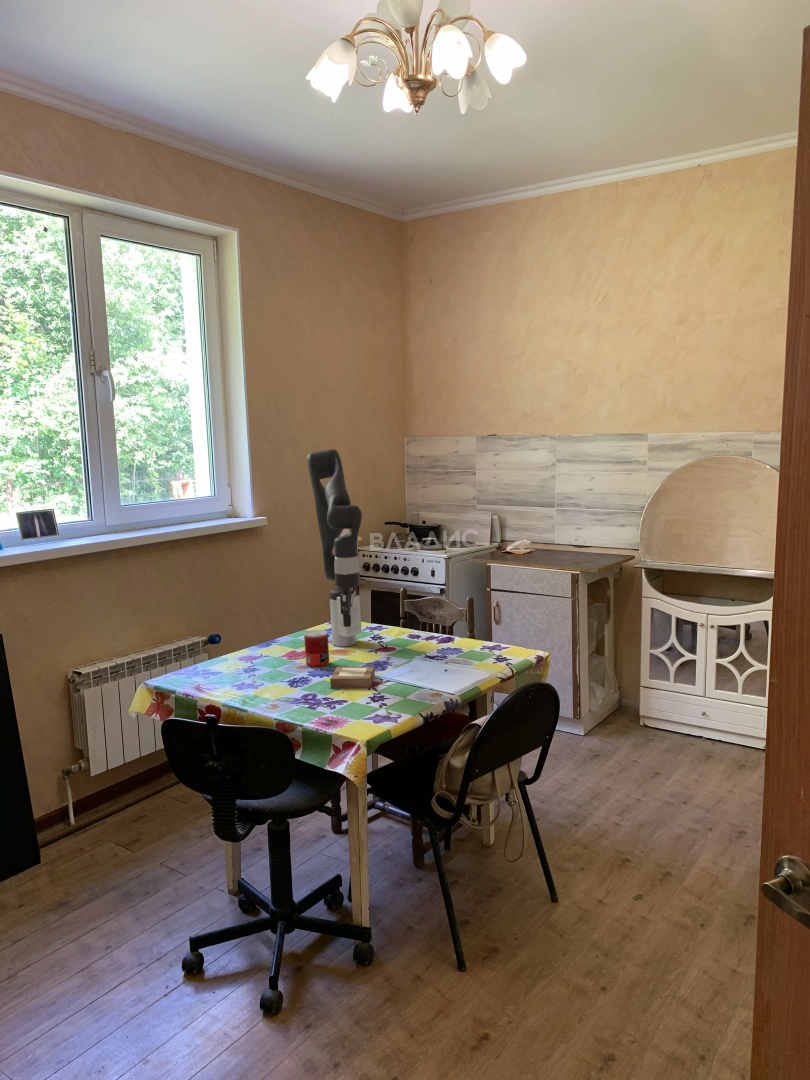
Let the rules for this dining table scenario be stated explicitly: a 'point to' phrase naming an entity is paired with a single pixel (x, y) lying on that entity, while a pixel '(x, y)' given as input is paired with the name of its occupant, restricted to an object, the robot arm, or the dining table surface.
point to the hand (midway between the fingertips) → (349, 623)
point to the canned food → (316, 648)
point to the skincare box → (355, 618)
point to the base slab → (352, 677)
